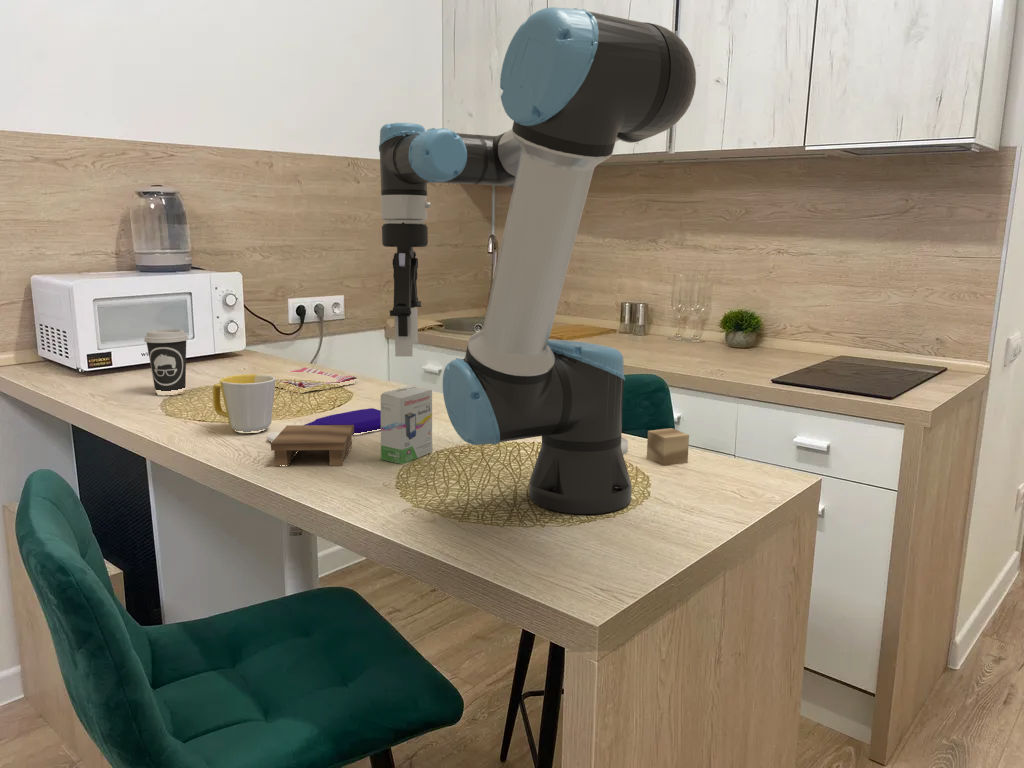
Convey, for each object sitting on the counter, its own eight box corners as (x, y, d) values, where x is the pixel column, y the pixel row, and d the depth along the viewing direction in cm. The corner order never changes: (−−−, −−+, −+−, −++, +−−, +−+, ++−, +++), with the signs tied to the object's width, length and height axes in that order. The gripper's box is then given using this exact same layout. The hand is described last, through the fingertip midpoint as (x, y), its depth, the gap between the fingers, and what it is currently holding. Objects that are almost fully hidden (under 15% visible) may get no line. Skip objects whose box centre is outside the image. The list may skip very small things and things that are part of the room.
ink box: (411, 448, 139) (410, 384, 136) (434, 453, 136) (433, 388, 134) (379, 460, 132) (377, 393, 129) (402, 465, 129) (401, 396, 127)
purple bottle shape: (369, 406, 161) (257, 427, 145) (399, 415, 153) (283, 438, 137) (370, 419, 161) (258, 442, 145) (399, 429, 153) (285, 454, 137)
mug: (289, 429, 151) (286, 377, 149) (244, 440, 143) (241, 385, 141) (246, 419, 159) (243, 369, 157) (202, 429, 151) (198, 377, 149)
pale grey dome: (632, 458, 135) (632, 447, 135) (581, 458, 134) (582, 447, 134) (621, 444, 144) (622, 434, 143) (574, 444, 143) (574, 434, 143)
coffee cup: (200, 392, 185) (196, 330, 182) (164, 399, 177) (159, 334, 174) (176, 387, 190) (171, 327, 187) (140, 394, 182) (134, 331, 179)
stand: (345, 465, 128) (344, 442, 127) (272, 466, 127) (270, 443, 127) (354, 446, 140) (354, 424, 139) (287, 446, 139) (286, 425, 138)
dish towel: (302, 396, 184) (302, 382, 183) (249, 384, 198) (248, 370, 198) (359, 386, 196) (358, 372, 196) (304, 375, 211) (304, 362, 210)
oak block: (687, 463, 132) (689, 434, 131) (663, 466, 130) (664, 437, 129) (670, 455, 136) (671, 428, 135) (646, 458, 134) (647, 430, 133)
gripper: (423, 221, 114) (425, 361, 119) (431, 223, 139) (432, 339, 143) (372, 221, 114) (376, 361, 118) (389, 223, 139) (392, 339, 143)
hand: (407, 350), depth 131 cm, fingers open, 13 cm apart
